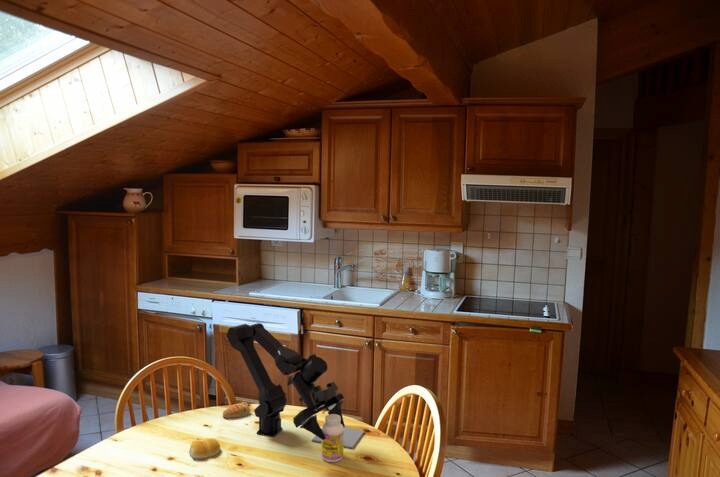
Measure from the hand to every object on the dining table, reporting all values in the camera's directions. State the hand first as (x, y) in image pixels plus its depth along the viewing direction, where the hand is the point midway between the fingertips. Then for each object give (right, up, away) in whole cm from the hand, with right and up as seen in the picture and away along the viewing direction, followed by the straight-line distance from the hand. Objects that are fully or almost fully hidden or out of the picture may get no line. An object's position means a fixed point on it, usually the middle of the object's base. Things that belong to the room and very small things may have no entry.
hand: (334, 433), depth 157 cm
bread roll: (-40, -7, +3) cm, 41 cm away
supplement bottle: (-1, -8, +1) cm, 8 cm away
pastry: (-36, -5, +30) cm, 47 cm away
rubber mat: (+1, -6, +14) cm, 16 cm away
